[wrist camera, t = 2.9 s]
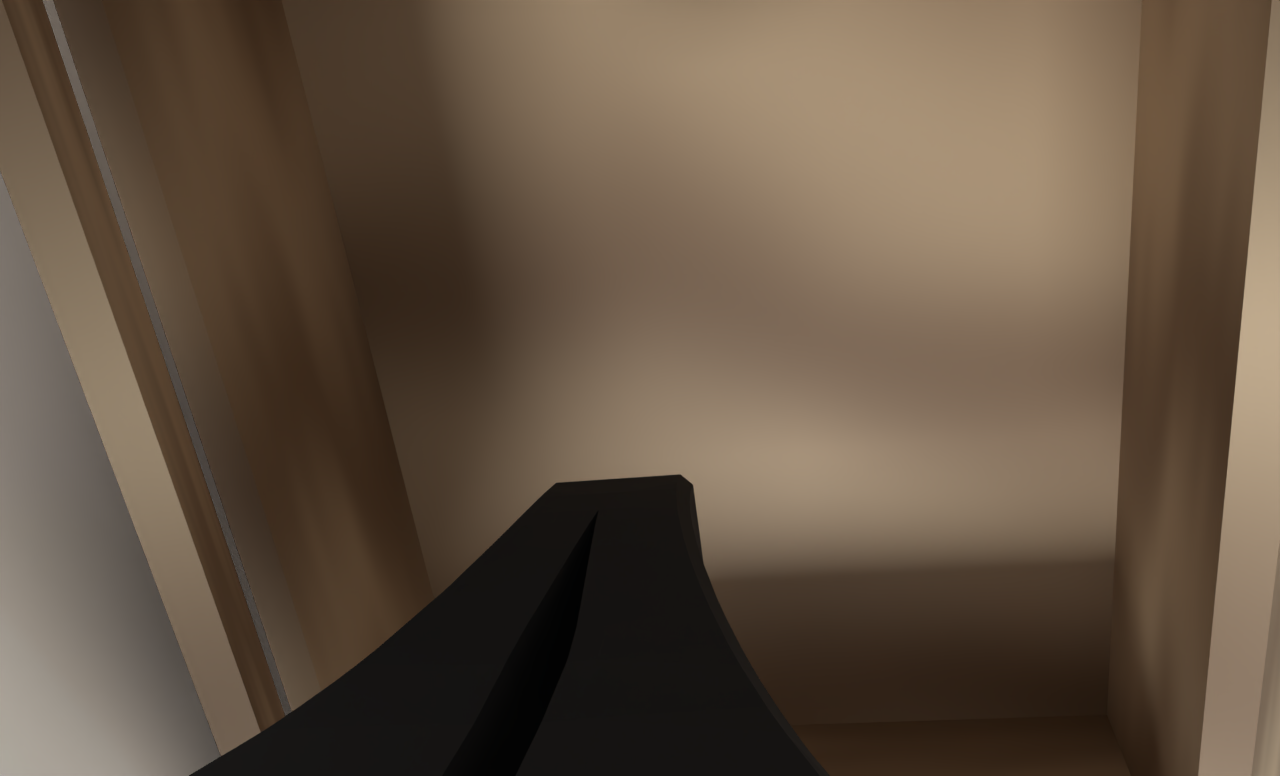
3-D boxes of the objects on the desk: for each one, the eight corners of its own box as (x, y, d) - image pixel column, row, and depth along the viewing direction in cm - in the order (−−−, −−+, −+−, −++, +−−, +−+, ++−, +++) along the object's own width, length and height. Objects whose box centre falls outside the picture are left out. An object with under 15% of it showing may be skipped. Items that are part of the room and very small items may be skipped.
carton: (1130, 740, 19) (1228, 978, 15) (455, 759, 21) (380, 976, 17) (1203, -451, 12) (1420, -605, 8) (184, -268, 14) (-55, -320, 10)
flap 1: (369, 966, 16) (439, 1238, 13) (344, 978, 16) (408, 1255, 13) (-32, -218, 10) (-106, -308, 6) (-77, -212, 10) (-179, -303, 6)
